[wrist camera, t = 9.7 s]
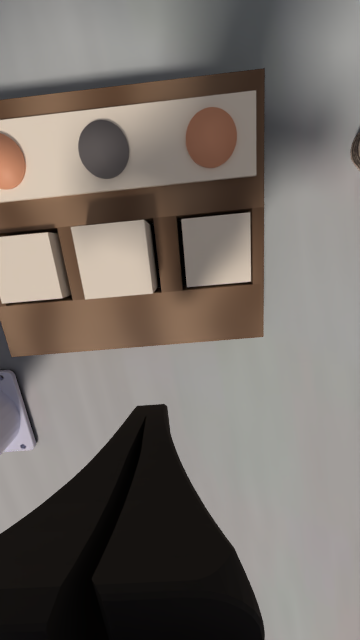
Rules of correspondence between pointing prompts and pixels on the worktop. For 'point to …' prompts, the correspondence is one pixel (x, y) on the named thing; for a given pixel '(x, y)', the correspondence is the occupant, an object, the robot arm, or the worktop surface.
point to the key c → (217, 249)
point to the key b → (116, 259)
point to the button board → (164, 211)
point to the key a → (32, 268)
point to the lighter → (356, 151)
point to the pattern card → (128, 147)
